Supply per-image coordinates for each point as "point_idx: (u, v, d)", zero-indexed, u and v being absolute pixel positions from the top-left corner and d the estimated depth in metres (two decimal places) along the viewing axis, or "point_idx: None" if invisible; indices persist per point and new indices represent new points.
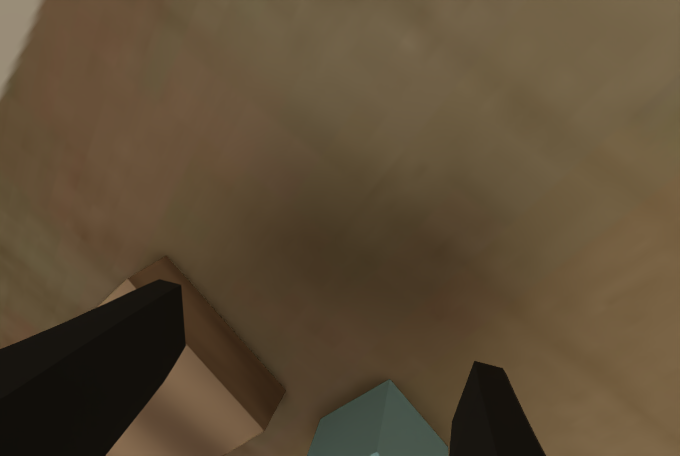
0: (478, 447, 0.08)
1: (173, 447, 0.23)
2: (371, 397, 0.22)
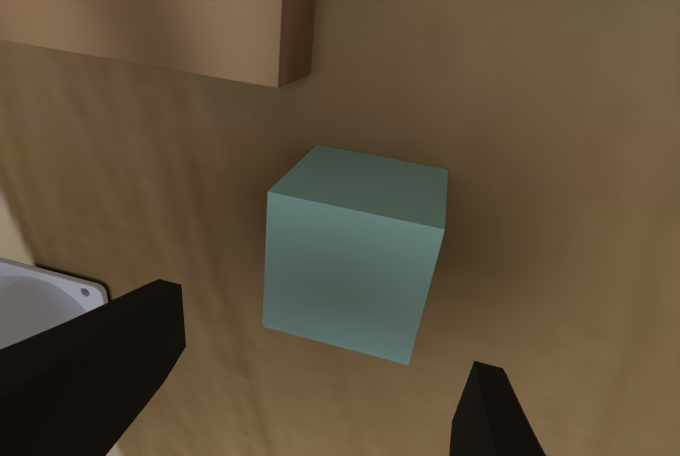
0: (478, 447, 0.08)
1: None
2: (415, 169, 0.15)
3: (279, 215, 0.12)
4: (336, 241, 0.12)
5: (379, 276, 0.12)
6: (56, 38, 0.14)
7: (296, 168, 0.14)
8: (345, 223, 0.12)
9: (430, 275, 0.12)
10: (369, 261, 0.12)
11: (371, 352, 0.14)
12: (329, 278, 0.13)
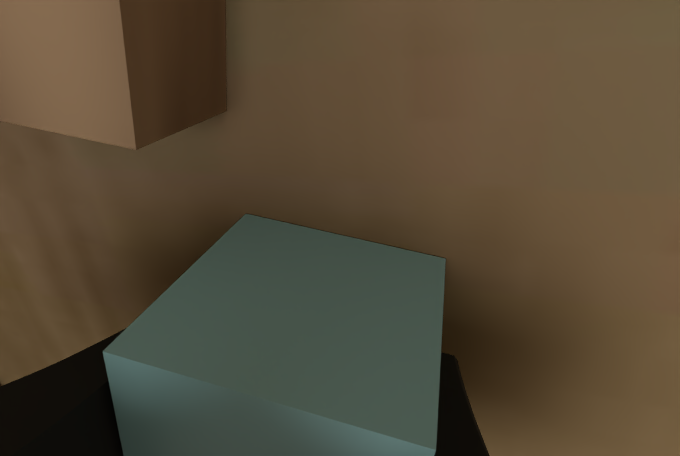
0: None
1: None
2: (393, 264, 0.09)
3: (130, 388, 0.07)
4: (236, 440, 0.07)
5: None
6: None
7: (188, 277, 0.08)
8: (246, 415, 0.06)
9: None
10: None
11: None
12: None
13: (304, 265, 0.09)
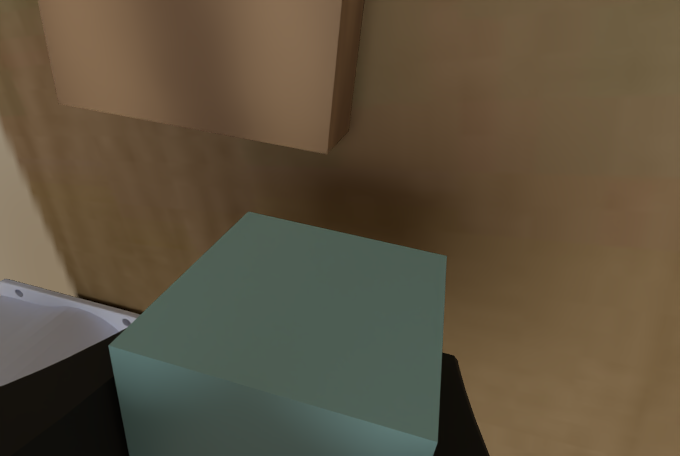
0: None
1: (168, 68, 0.14)
2: (395, 261, 0.10)
3: (136, 382, 0.07)
4: (240, 433, 0.07)
5: None
6: (120, 105, 0.15)
7: (191, 274, 0.08)
8: (250, 408, 0.06)
9: None
10: None
11: None
12: None
13: (306, 262, 0.09)
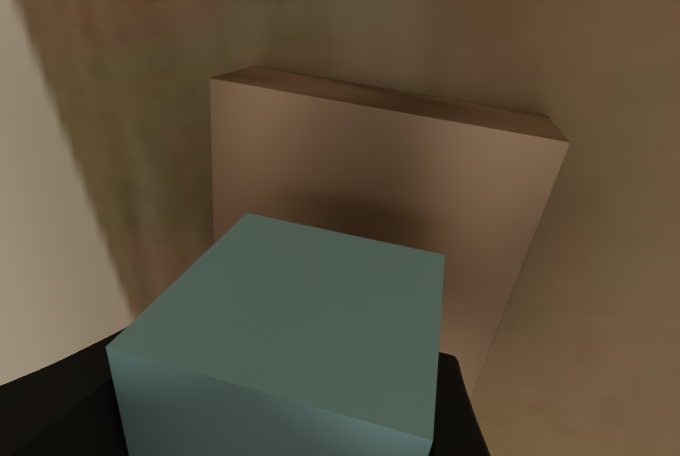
0: None
1: None
2: (393, 261, 0.10)
3: (134, 383, 0.07)
4: (237, 433, 0.07)
5: None
6: None
7: (189, 275, 0.08)
8: (246, 408, 0.06)
9: None
10: None
11: None
12: None
13: (304, 262, 0.09)
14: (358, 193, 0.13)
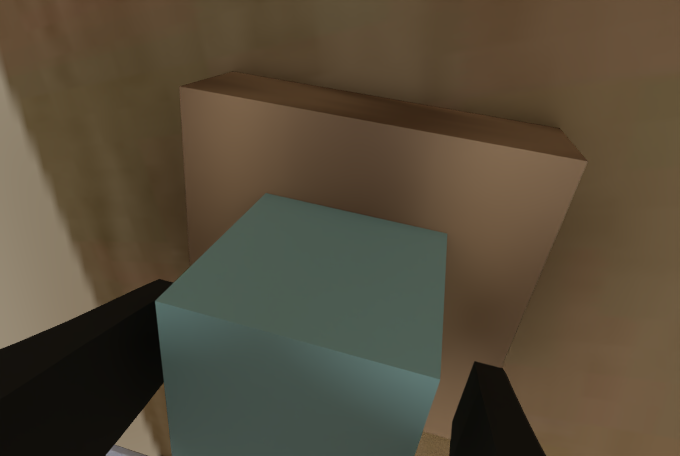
0: (478, 447, 0.08)
1: None
2: (400, 237, 0.11)
3: (178, 334, 0.08)
4: (268, 378, 0.08)
5: (336, 430, 0.08)
6: None
7: (220, 245, 0.09)
8: (278, 355, 0.07)
9: (416, 438, 0.07)
10: (321, 409, 0.08)
11: None
12: (261, 424, 0.08)
13: (321, 237, 0.10)
14: None
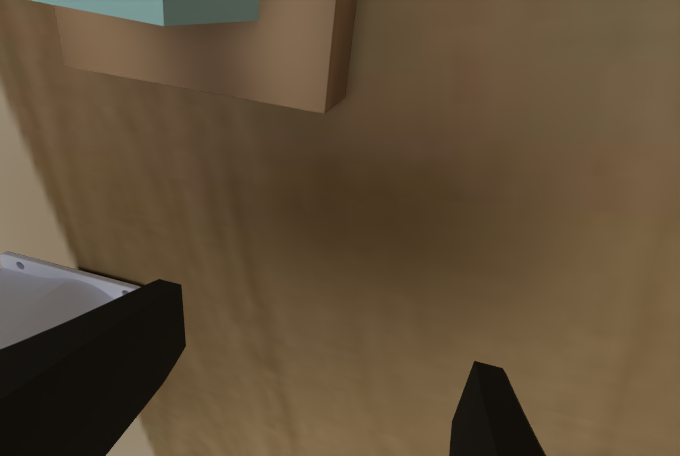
0: (478, 447, 0.08)
1: (172, 30, 0.14)
2: None
3: None
4: None
5: None
6: (124, 67, 0.15)
7: None
8: None
9: None
10: None
11: (111, 9, 0.09)
12: None
13: None
14: None
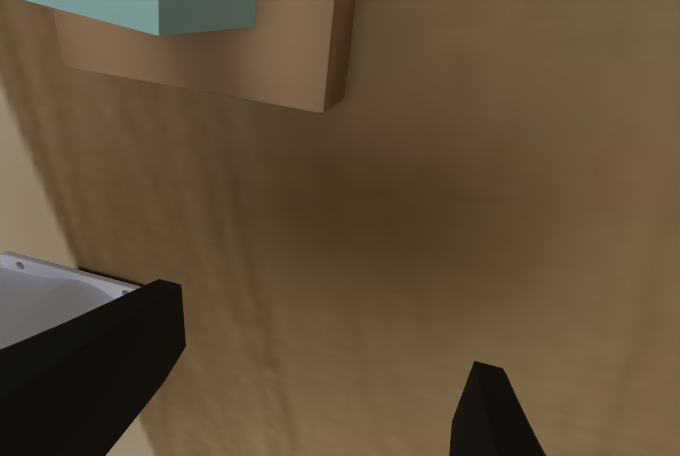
0: (478, 447, 0.08)
1: None
2: None
3: None
4: None
5: None
6: (123, 67, 0.15)
7: None
8: None
9: None
10: None
11: (106, 15, 0.09)
12: None
13: None
14: None
